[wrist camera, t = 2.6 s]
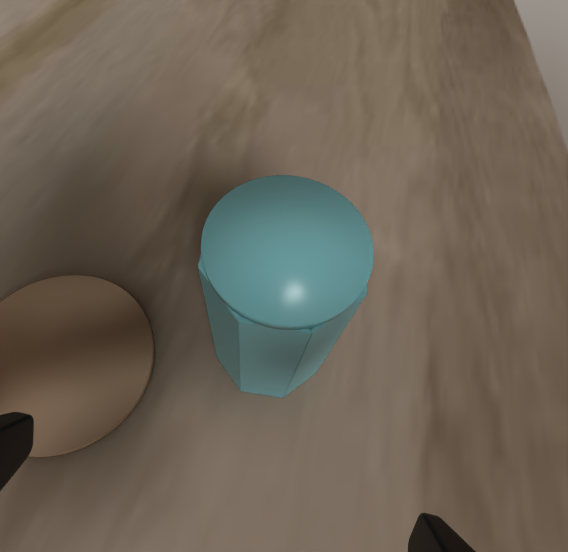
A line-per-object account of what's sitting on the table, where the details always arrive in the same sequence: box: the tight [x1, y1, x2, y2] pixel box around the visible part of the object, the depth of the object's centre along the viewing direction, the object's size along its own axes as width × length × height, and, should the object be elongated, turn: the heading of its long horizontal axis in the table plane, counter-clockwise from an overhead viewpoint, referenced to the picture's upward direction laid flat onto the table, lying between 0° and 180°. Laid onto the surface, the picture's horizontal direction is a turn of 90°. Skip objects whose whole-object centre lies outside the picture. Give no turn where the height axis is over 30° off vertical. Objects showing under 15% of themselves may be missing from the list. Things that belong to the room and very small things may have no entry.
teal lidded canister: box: [198, 175, 374, 398], centre depth 20 cm, size 6×6×12 cm
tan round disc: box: [0, 275, 155, 457], centre depth 23 cm, size 10×10×1 cm
